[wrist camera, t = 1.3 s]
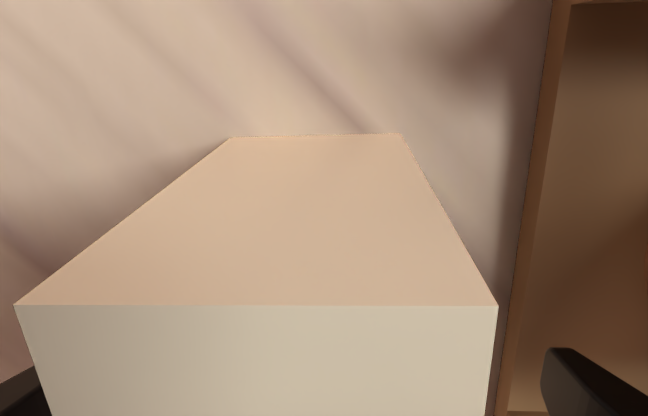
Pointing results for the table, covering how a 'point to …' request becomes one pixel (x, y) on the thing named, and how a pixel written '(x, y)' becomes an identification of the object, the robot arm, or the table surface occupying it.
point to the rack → (584, 205)
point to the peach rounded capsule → (646, 269)
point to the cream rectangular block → (272, 293)
